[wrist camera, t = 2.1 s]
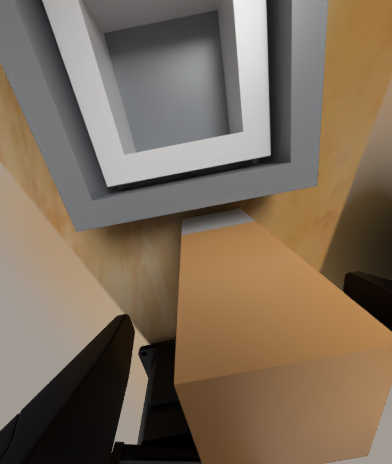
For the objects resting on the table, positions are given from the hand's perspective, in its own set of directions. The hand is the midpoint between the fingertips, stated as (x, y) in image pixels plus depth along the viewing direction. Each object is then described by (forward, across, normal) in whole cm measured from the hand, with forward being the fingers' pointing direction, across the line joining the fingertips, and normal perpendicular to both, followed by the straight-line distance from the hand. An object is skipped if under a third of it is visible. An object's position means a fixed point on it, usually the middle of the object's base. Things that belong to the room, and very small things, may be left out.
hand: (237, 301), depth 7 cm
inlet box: (+6, +1, -9) cm, 11 cm away
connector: (+6, 0, 0) cm, 6 cm away
